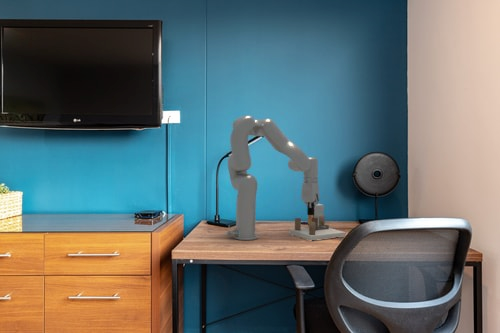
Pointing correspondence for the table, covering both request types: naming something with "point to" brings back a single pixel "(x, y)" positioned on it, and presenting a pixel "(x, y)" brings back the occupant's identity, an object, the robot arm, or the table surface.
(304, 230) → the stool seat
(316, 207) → the small box
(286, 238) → the table surface
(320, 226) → the grey and brown lever
